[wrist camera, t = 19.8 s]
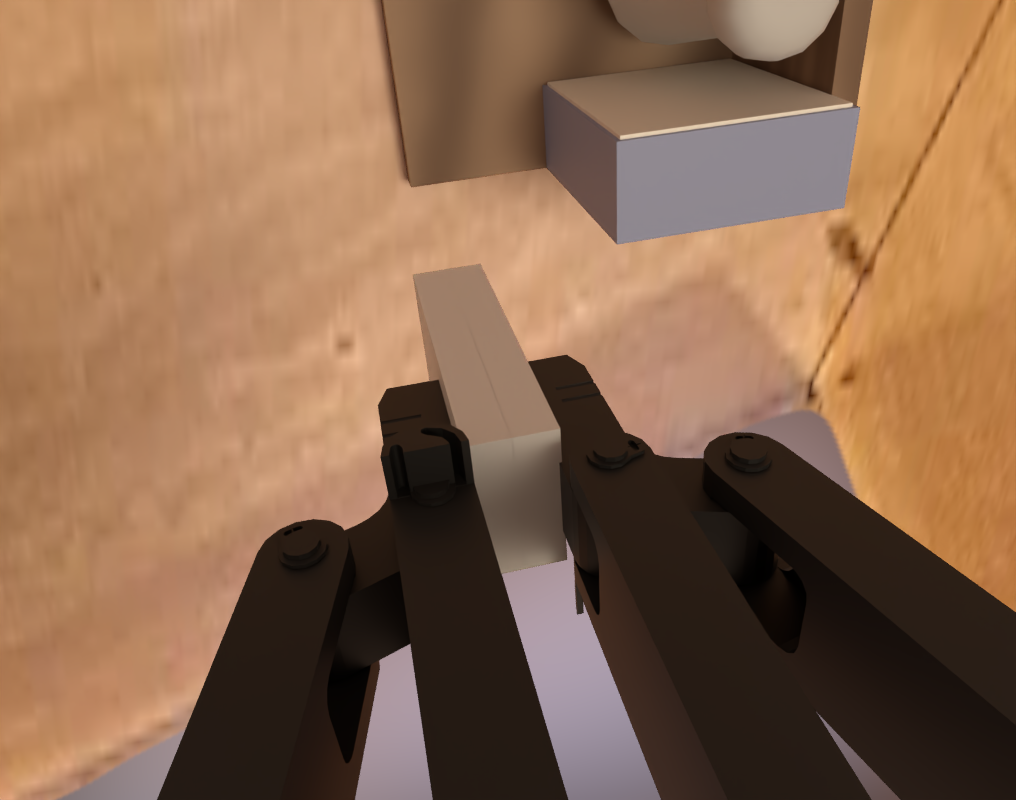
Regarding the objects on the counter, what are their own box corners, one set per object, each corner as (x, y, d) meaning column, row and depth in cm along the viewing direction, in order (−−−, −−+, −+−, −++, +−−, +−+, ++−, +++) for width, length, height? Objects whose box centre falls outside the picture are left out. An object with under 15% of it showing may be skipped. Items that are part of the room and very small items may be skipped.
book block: (546, 167, 40) (616, 244, 31) (542, 82, 38) (616, 137, 29) (726, 141, 41) (844, 207, 32) (732, 57, 39) (860, 103, 30)
